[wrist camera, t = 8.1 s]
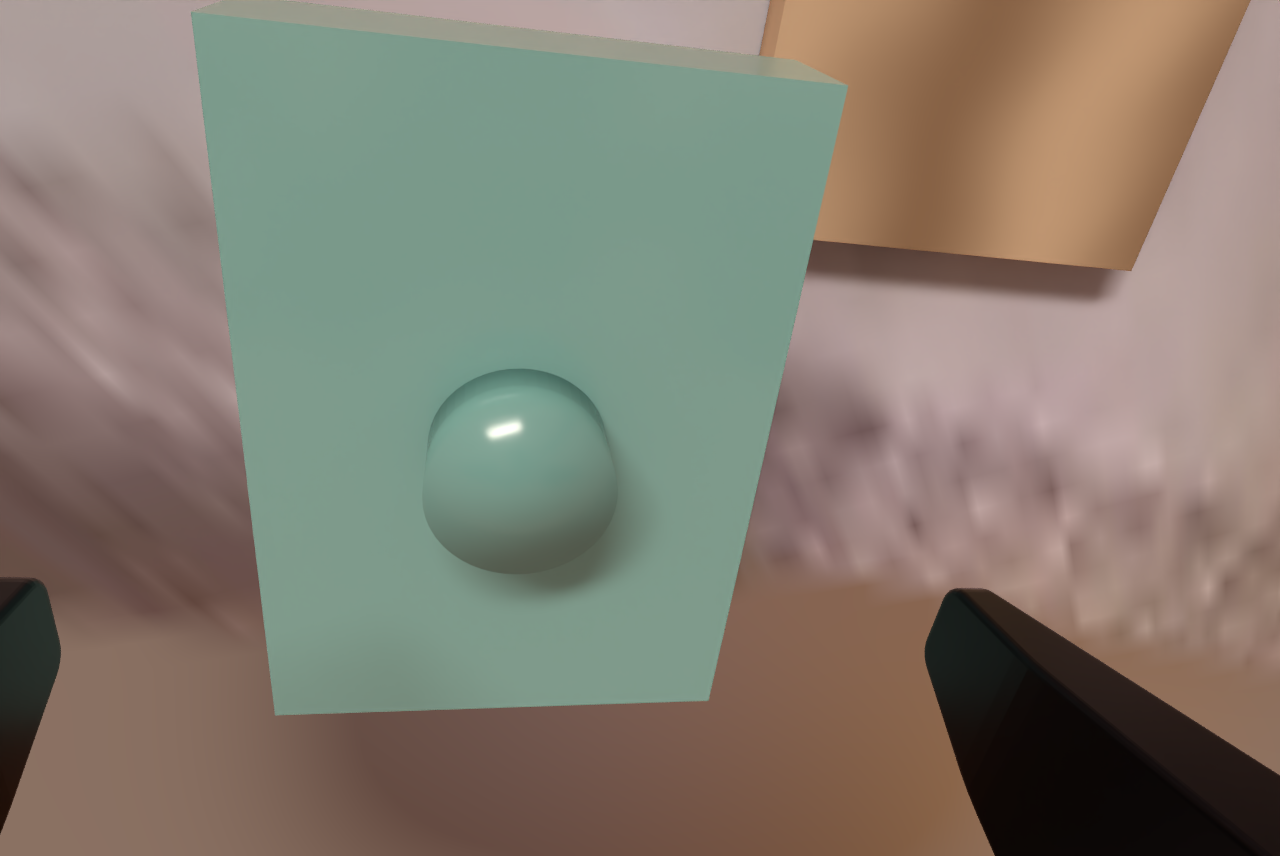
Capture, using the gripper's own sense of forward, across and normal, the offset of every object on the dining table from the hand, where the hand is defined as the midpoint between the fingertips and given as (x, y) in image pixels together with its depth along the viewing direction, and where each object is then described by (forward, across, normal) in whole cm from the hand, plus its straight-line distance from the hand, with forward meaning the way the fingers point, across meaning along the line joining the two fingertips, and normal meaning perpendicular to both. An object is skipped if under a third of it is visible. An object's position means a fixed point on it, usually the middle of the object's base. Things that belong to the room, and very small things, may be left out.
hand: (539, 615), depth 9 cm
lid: (+5, 0, 0) cm, 5 cm away
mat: (+12, -10, -6) cm, 17 cm away
